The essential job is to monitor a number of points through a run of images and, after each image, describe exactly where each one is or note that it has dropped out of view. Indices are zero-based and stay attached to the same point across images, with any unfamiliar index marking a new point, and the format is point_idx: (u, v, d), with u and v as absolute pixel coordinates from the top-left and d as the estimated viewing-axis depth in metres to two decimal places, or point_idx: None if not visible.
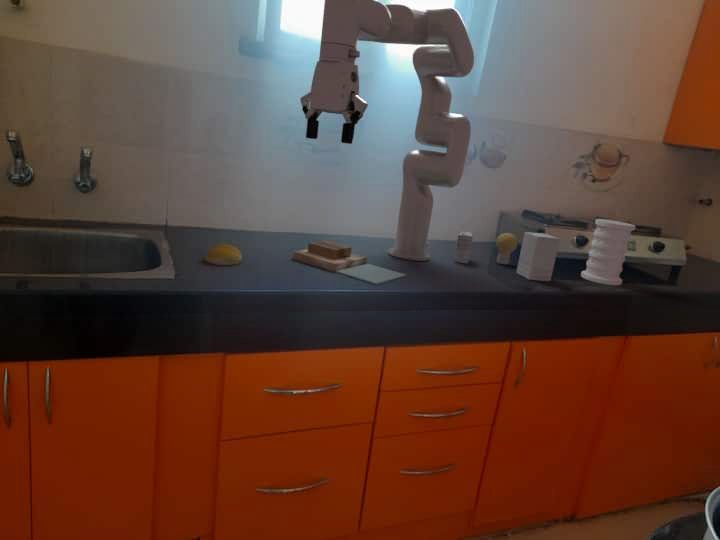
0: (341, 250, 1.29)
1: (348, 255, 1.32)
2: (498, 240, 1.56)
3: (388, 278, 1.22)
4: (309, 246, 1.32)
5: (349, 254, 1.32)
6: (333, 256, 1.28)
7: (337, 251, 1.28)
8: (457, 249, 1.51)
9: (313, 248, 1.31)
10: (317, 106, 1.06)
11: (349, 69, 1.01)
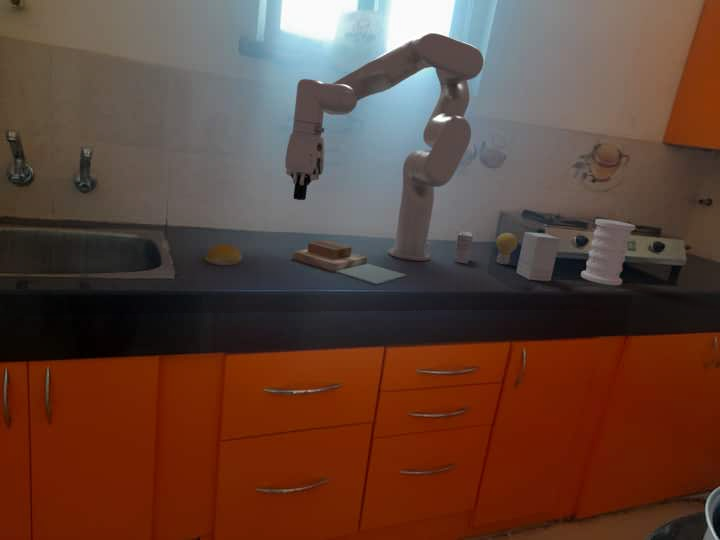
0: (341, 250, 1.29)
1: (348, 255, 1.32)
2: (498, 240, 1.56)
3: (388, 278, 1.22)
4: (309, 246, 1.32)
5: (349, 254, 1.32)
6: (333, 256, 1.28)
7: (337, 251, 1.28)
8: (457, 249, 1.51)
9: (313, 248, 1.31)
10: (291, 168, 1.33)
11: (315, 141, 1.28)
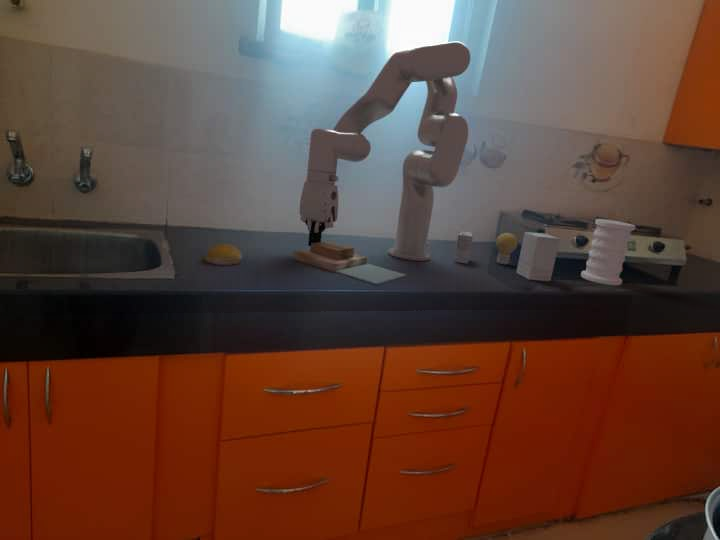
0: (344, 250, 1.29)
1: (351, 256, 1.32)
2: (498, 240, 1.56)
3: (388, 278, 1.22)
4: (312, 247, 1.31)
5: (351, 254, 1.32)
6: (336, 257, 1.27)
7: (340, 252, 1.27)
8: (457, 249, 1.51)
9: (316, 249, 1.30)
10: (305, 215, 1.33)
11: (330, 190, 1.28)
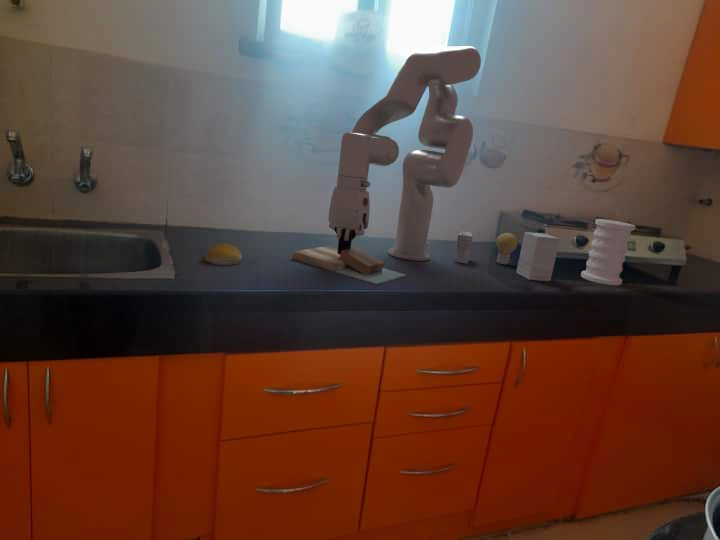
0: (374, 266, 1.24)
1: (379, 270, 1.27)
2: (498, 240, 1.56)
3: (388, 278, 1.22)
4: (341, 254, 1.26)
5: (380, 269, 1.27)
6: (365, 271, 1.23)
7: (370, 267, 1.23)
8: (457, 249, 1.51)
9: (345, 258, 1.25)
10: (334, 222, 1.28)
11: (361, 197, 1.23)
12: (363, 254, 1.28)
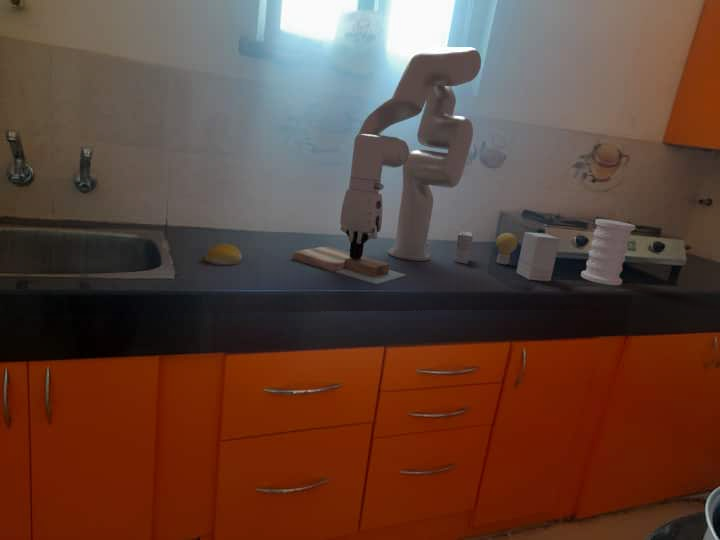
0: (380, 267, 1.23)
1: (386, 272, 1.26)
2: (498, 240, 1.56)
3: (388, 278, 1.22)
4: (345, 263, 1.26)
5: (387, 271, 1.26)
6: (372, 274, 1.21)
7: (376, 269, 1.22)
8: (457, 249, 1.51)
9: (350, 265, 1.25)
10: (347, 225, 1.26)
11: (375, 199, 1.21)
12: (367, 260, 1.28)
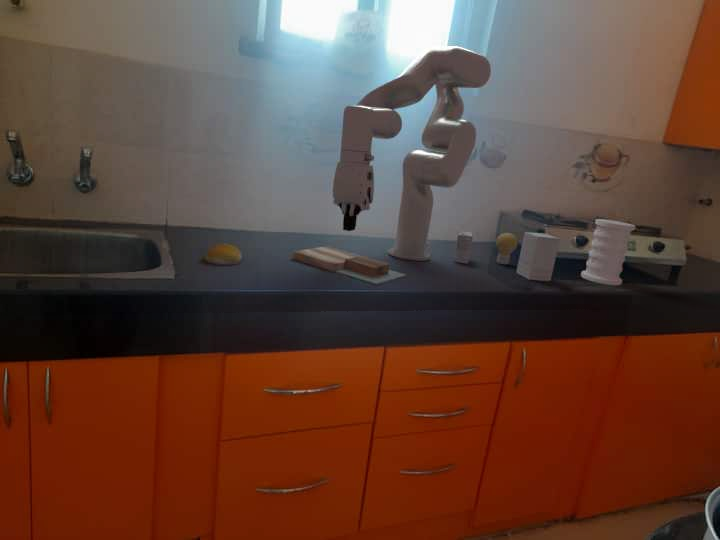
0: (380, 267, 1.23)
1: (386, 272, 1.26)
2: (498, 240, 1.56)
3: (388, 278, 1.22)
4: (345, 263, 1.26)
5: (387, 271, 1.26)
6: (372, 274, 1.21)
7: (376, 269, 1.22)
8: (457, 249, 1.51)
9: (350, 265, 1.25)
10: (339, 198, 1.27)
11: (365, 171, 1.21)
12: (367, 260, 1.28)
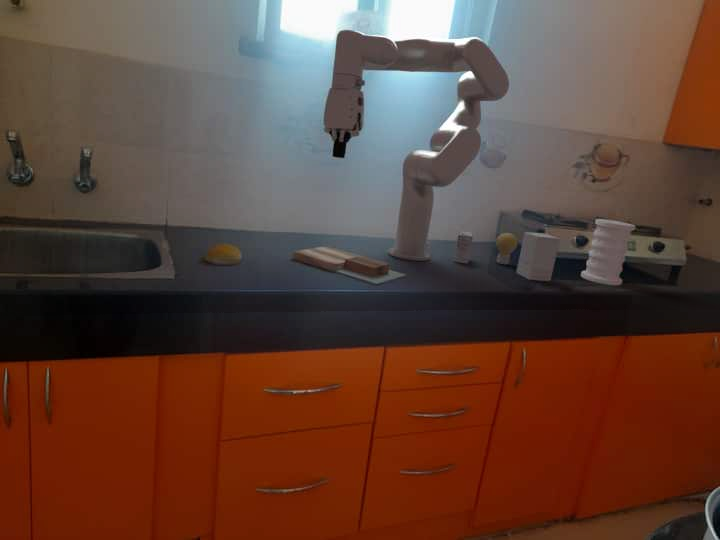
0: (380, 267, 1.23)
1: (386, 272, 1.26)
2: (498, 240, 1.56)
3: (388, 278, 1.22)
4: (345, 263, 1.26)
5: (387, 271, 1.26)
6: (372, 274, 1.21)
7: (376, 269, 1.22)
8: (457, 249, 1.51)
9: (350, 265, 1.25)
10: (330, 124, 1.29)
11: (356, 95, 1.24)
12: (367, 260, 1.28)
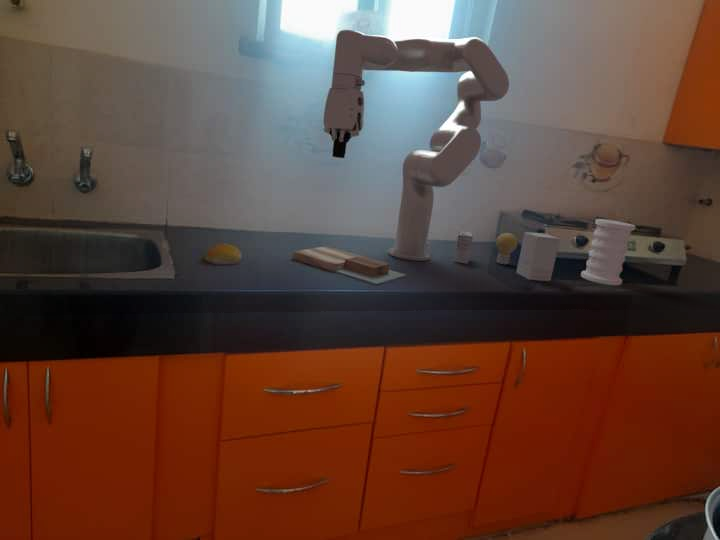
0: (380, 267, 1.23)
1: (386, 272, 1.26)
2: (498, 240, 1.56)
3: (388, 278, 1.22)
4: (345, 263, 1.26)
5: (387, 271, 1.26)
6: (372, 274, 1.21)
7: (376, 269, 1.22)
8: (457, 249, 1.51)
9: (350, 265, 1.25)
10: (329, 124, 1.29)
11: (356, 95, 1.24)
12: (367, 260, 1.28)
